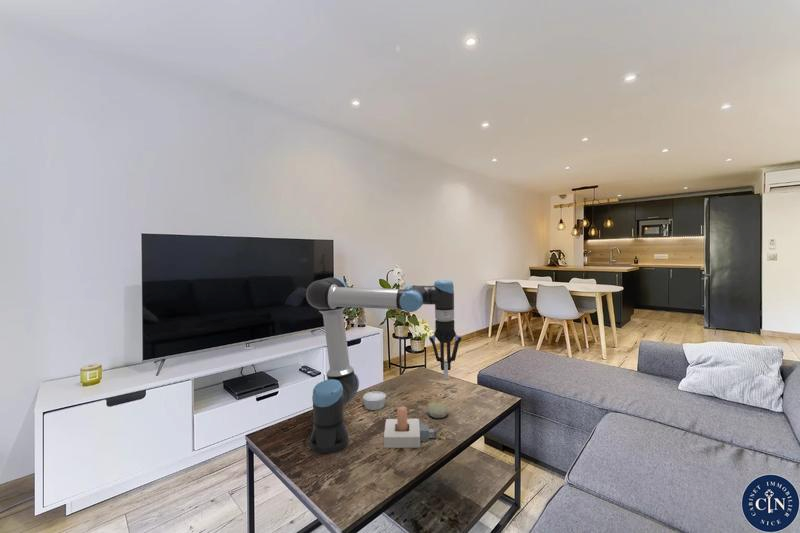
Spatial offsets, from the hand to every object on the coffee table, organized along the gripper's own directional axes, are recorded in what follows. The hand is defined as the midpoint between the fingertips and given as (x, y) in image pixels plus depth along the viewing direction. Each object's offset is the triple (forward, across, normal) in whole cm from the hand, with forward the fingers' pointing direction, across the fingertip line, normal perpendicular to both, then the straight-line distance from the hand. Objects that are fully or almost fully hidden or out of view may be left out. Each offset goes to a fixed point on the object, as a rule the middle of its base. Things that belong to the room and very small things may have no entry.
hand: (445, 377), depth 136 cm
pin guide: (+24, -9, 0) cm, 26 cm away
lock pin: (+24, -10, 0) cm, 26 cm away
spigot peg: (+24, -18, 0) cm, 30 cm away
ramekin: (+25, -32, +28) cm, 49 cm away
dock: (+24, -18, 0) cm, 30 cm away
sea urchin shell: (+25, -2, +19) cm, 31 cm away
